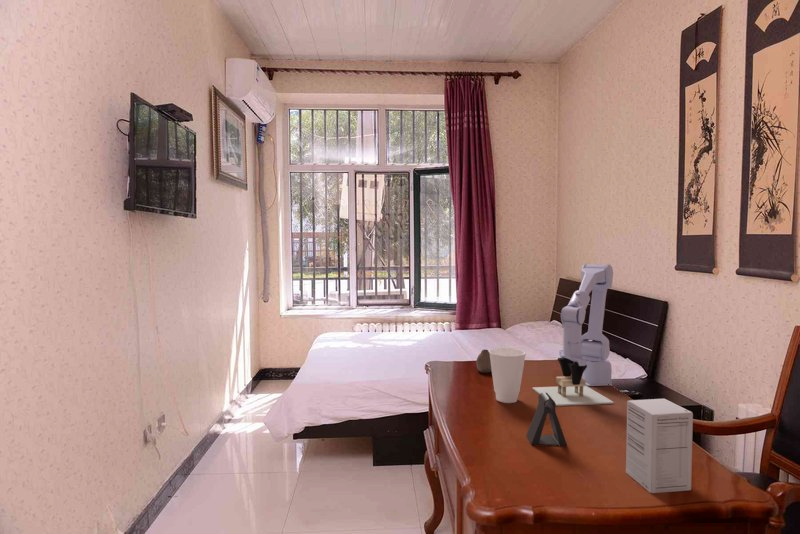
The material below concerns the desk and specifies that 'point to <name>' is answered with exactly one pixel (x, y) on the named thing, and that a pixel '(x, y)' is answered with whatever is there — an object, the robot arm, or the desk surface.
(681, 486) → the supplement box
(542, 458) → the desk surface
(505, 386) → the cup
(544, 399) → the phone stand
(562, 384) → the tan plank with pegs
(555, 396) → the mat
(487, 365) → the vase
